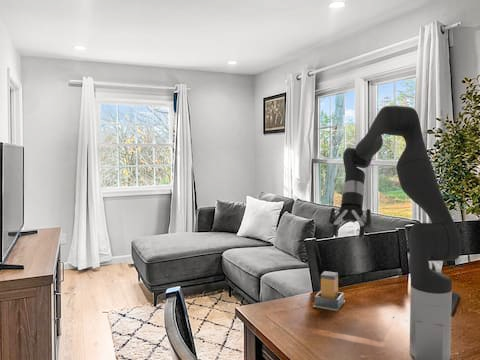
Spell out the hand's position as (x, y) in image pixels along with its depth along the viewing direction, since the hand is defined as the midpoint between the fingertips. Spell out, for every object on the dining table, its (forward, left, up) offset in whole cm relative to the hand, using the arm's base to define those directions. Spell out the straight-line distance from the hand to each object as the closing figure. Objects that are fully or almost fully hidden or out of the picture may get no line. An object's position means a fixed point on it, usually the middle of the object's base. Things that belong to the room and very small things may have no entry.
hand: (348, 237), depth 139 cm
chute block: (-11, +3, -20) cm, 24 cm away
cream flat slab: (-11, +3, -22) cm, 25 cm away
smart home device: (+10, -30, -22) cm, 38 cm away
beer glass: (+27, -26, -22) cm, 43 cm away
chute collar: (-11, +3, -20) cm, 24 cm away
